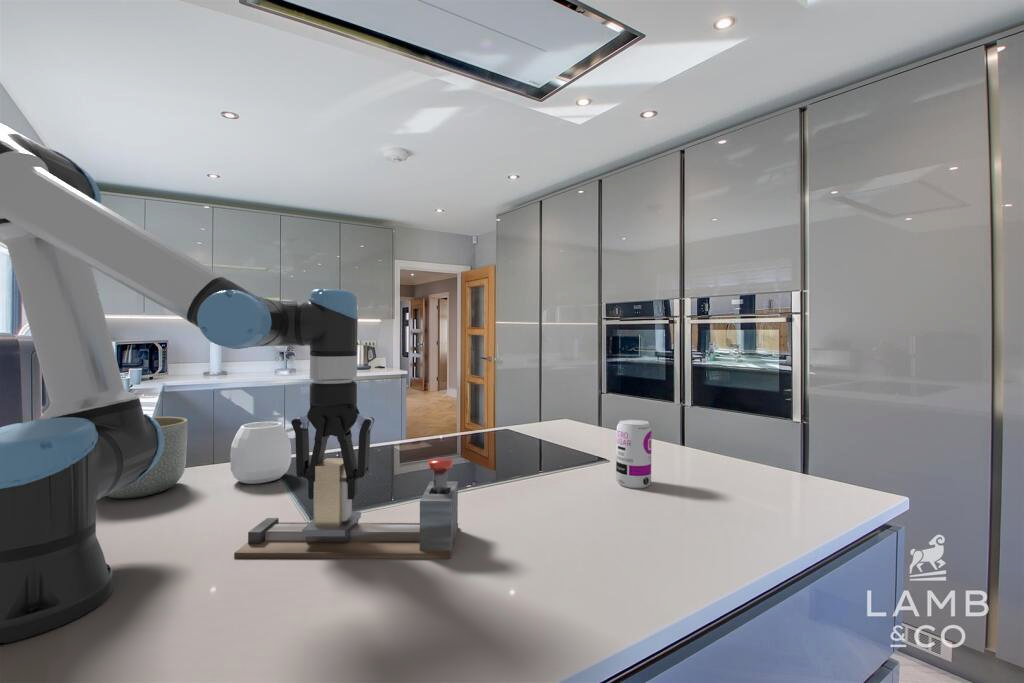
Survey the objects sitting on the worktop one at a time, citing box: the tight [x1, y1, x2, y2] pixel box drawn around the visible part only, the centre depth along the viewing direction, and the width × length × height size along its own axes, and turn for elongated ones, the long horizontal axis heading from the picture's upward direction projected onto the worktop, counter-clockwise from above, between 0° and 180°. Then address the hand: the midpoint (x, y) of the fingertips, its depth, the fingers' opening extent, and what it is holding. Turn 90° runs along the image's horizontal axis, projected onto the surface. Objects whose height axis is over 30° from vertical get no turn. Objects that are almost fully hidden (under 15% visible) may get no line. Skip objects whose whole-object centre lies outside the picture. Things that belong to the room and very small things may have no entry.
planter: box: [106, 416, 189, 499], centre depth 103 cm, size 17×17×15 cm
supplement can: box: [615, 418, 653, 490], centre depth 111 cm, size 8×8×15 cm
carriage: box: [302, 457, 362, 542], centre depth 79 cm, size 8×7×12 cm
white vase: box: [229, 420, 292, 485], centre depth 113 cm, size 13×13×14 cm
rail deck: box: [233, 480, 459, 560], centre depth 79 cm, size 12×34×9 cm, turn 91°
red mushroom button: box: [427, 456, 453, 494], centre depth 79 cm, size 4×4×7 cm
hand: (332, 517), depth 79 cm, fingers closed on carriage, 4 cm apart
